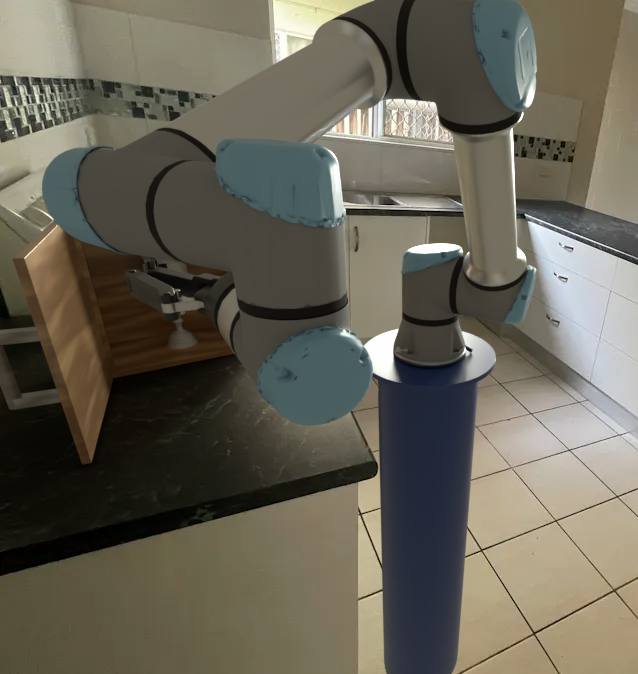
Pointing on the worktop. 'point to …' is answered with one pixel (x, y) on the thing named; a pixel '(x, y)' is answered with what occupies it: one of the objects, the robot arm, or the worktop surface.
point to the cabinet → (141, 317)
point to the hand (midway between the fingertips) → (205, 256)
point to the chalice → (180, 336)
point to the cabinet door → (61, 337)
